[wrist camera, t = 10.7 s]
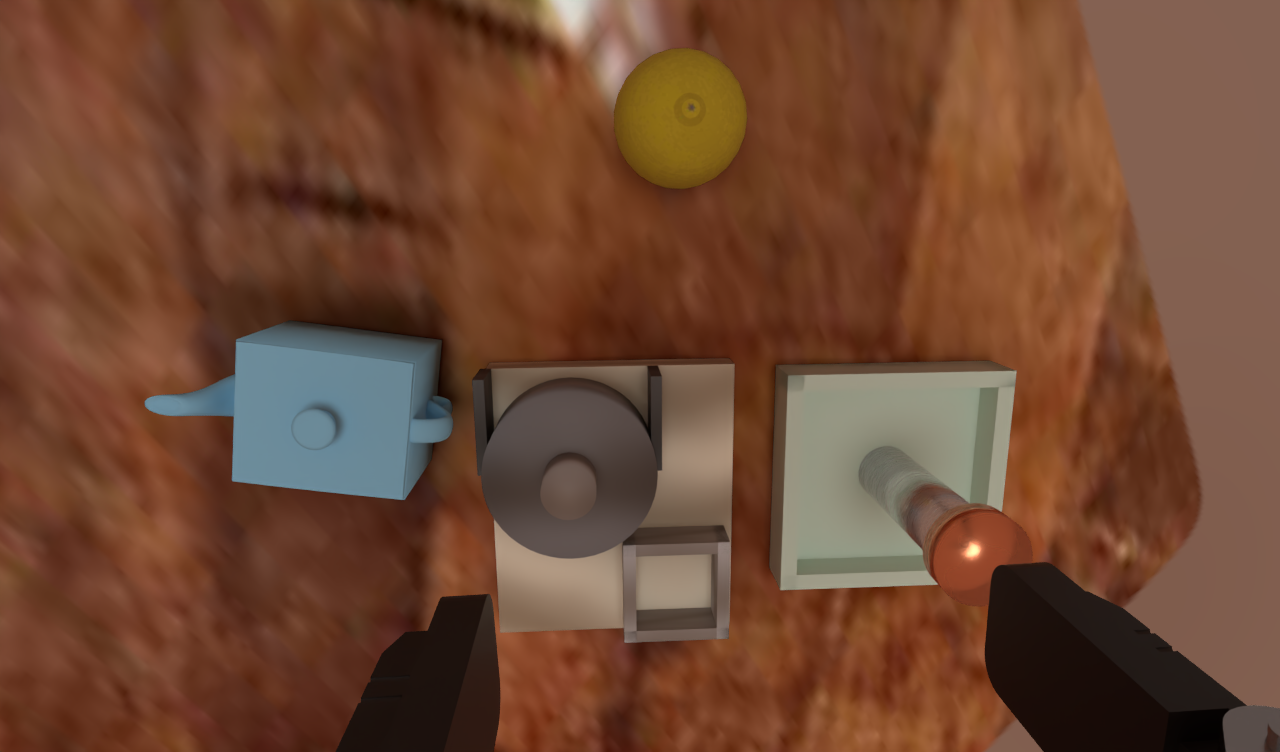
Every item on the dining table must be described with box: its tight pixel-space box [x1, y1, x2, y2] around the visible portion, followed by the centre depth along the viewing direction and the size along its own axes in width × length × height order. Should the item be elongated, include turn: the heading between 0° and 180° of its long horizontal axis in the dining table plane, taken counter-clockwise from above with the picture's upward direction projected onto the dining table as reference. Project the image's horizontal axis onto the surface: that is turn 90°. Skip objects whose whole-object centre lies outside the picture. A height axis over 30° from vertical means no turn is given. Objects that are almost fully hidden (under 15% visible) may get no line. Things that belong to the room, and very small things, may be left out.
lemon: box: [614, 48, 747, 189], centre depth 31 cm, size 6×6×8 cm
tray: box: [769, 361, 1016, 590], centre depth 38 cm, size 11×11×2 cm
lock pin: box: [858, 446, 1032, 606], centre depth 34 cm, size 4×4×10 cm
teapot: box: [144, 321, 453, 500], centre depth 33 cm, size 12×6×8 cm, turn 82°
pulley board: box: [472, 358, 735, 643], centre depth 36 cm, size 14×12×6 cm
